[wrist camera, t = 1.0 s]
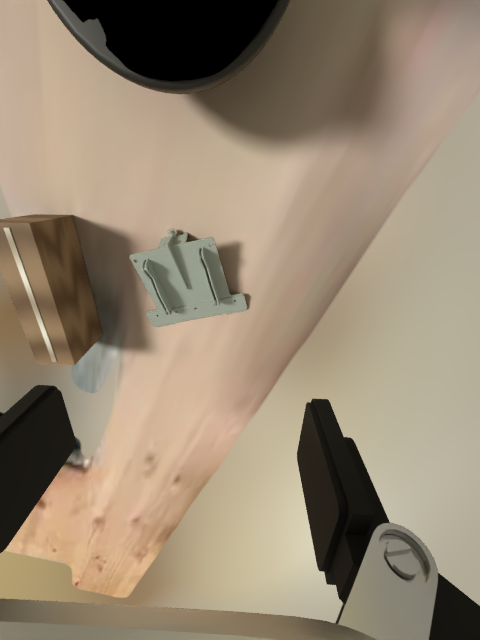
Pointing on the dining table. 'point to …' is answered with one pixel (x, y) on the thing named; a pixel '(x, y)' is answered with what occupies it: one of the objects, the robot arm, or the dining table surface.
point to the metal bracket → (185, 280)
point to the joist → (49, 286)
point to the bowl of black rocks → (172, 38)
